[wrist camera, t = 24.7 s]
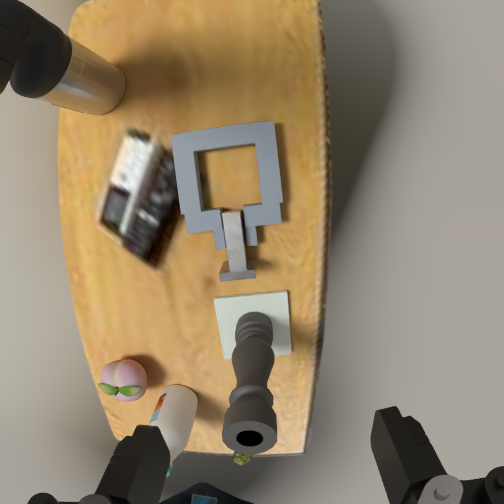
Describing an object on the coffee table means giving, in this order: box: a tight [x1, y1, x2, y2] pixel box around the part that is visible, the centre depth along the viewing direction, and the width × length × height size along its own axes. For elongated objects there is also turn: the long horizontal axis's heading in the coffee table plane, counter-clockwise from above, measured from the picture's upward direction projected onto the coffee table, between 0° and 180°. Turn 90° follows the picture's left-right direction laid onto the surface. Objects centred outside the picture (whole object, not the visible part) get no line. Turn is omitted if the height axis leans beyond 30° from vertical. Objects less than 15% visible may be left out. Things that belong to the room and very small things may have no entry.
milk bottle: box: [149, 385, 198, 477], centre depth 48 cm, size 8×8×20 cm
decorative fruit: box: [98, 359, 147, 402], centre depth 51 cm, size 9×8×10 cm
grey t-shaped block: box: [219, 210, 256, 281], centre depth 45 cm, size 5×9×6 cm, turn 7°
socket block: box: [171, 121, 283, 250], centre depth 45 cm, size 15×18×3 cm
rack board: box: [214, 290, 292, 359], centre depth 52 cm, size 12×12×1 cm
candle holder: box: [222, 312, 277, 454], centre depth 39 cm, size 6×6×25 cm
